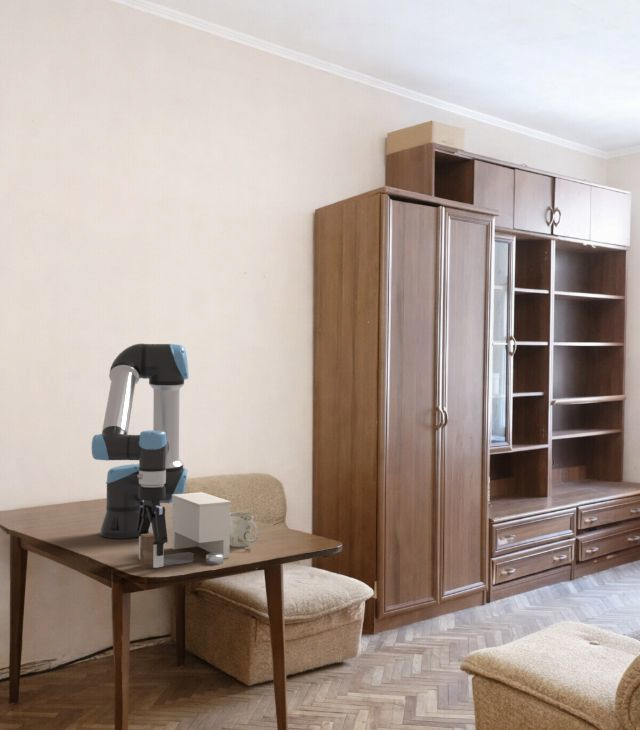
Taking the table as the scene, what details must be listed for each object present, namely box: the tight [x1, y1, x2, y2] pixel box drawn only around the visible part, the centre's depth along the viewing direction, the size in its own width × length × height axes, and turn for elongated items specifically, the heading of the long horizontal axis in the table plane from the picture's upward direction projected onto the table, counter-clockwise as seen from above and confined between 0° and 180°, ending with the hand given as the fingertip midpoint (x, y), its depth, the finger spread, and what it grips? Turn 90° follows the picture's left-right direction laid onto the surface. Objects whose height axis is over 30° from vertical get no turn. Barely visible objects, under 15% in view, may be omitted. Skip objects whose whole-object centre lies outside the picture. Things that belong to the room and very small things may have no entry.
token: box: [205, 552, 224, 566], centre depth 229 cm, size 5×5×2 cm
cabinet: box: [171, 491, 232, 559], centre depth 241 cm, size 20×10×17 cm, turn 34°
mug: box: [230, 511, 259, 548], centre depth 251 cm, size 8×13×10 cm, turn 51°
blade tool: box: [139, 532, 194, 570], centre depth 227 cm, size 4×15×9 cm, turn 124°
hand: (150, 562), depth 224 cm, fingers open, 10 cm apart
